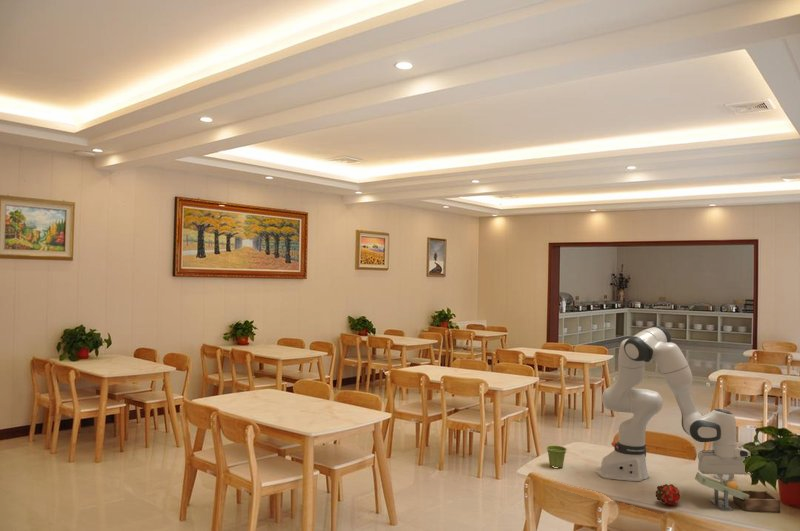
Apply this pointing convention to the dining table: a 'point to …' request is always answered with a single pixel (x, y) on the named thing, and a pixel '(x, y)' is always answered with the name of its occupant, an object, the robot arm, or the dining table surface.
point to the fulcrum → (720, 503)
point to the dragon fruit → (668, 494)
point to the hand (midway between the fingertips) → (725, 484)
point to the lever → (720, 486)
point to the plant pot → (556, 455)
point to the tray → (758, 502)
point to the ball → (732, 485)
